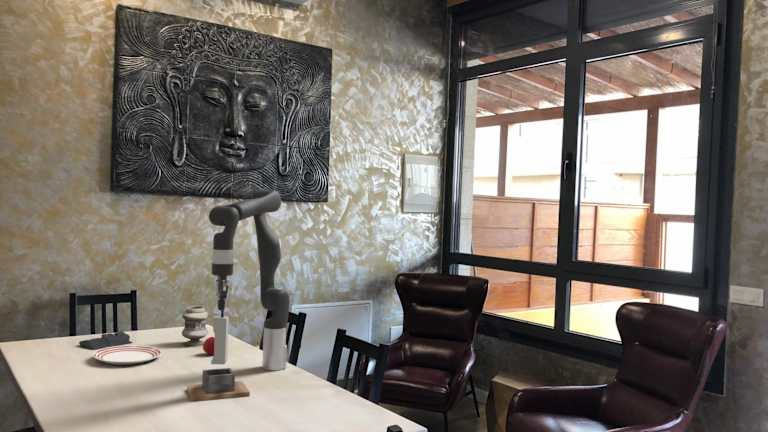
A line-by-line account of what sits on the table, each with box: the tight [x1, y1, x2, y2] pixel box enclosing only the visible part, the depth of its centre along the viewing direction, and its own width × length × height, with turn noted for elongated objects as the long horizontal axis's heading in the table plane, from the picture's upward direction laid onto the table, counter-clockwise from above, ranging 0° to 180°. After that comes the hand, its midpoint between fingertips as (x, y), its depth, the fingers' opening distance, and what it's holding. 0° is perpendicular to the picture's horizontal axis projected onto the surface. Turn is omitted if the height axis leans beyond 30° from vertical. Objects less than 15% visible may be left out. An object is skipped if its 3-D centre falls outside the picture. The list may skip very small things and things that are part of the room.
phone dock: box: [186, 367, 251, 402], centre depth 219 cm, size 20×14×8 cm
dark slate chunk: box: [78, 330, 133, 351], centre depth 284 cm, size 15×22×5 cm
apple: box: [202, 336, 215, 356], centre depth 272 cm, size 8×8×8 cm
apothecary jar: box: [181, 305, 209, 347], centre depth 290 cm, size 12×12×18 cm
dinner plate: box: [92, 344, 163, 366], centre depth 259 cm, size 28×27×3 cm
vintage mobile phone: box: [210, 310, 230, 365], centre depth 219 cm, size 4×5×25 cm
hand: (221, 309), depth 218 cm, fingers closed on vintage mobile phone, 1 cm apart
